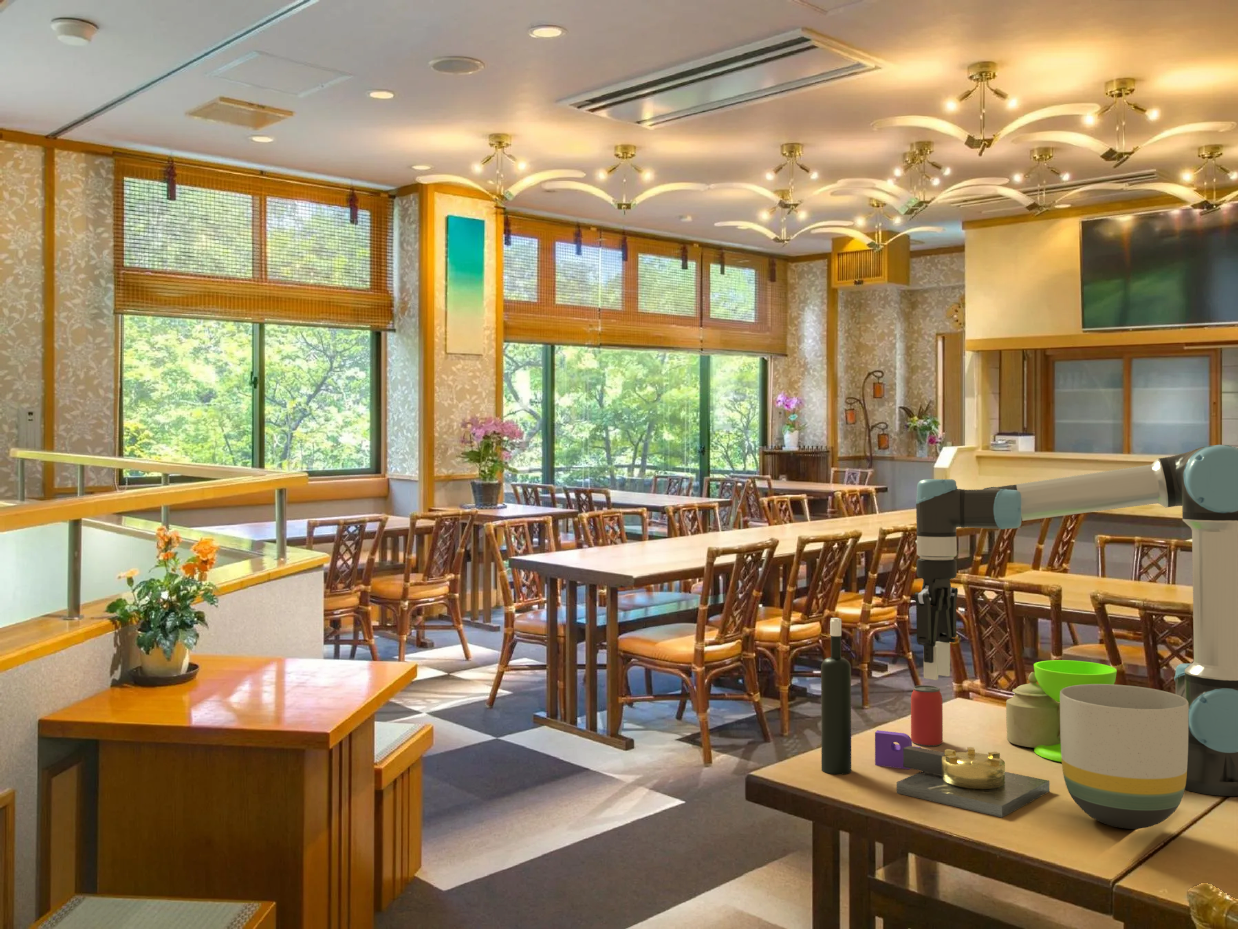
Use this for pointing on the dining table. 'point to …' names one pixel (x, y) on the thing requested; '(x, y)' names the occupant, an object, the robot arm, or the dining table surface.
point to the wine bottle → (836, 707)
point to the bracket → (890, 748)
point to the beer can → (926, 716)
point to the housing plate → (976, 792)
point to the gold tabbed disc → (958, 766)
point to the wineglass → (1064, 675)
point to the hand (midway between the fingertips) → (936, 676)
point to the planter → (1124, 752)
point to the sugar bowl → (1032, 716)
